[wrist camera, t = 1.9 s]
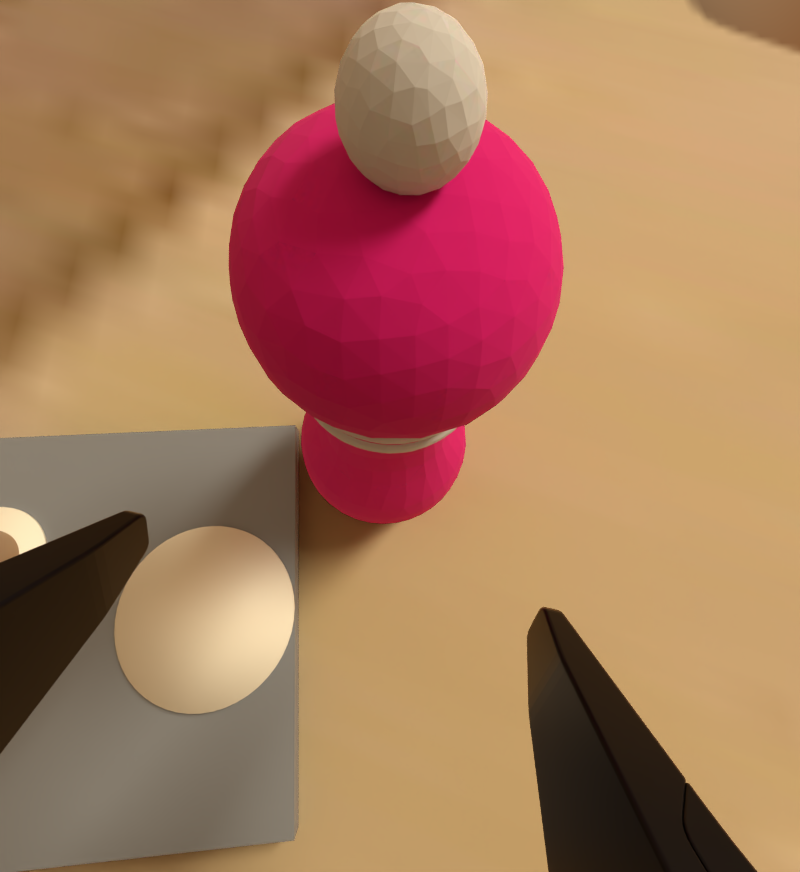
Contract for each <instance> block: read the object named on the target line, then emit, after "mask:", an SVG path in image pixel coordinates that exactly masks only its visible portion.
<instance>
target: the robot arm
mask: <svg viewBox="0 0 800 872" xmlns="http://www.w3.org/2000/svg"><path fill="white" fill-rule="evenodd" d="M148 545H149V536H148V528H147V520H146V517H145V516H144V515H143V514H141V513H137V512H132V511H122V512H119V513H117V514H115V515H112V516H110V517H107V518H105V519H103V520H100V521H98V522H96V523H93V524H91V525H88V526H86V527H84V528H81V529H79V530H76V531H74V532H72V533H69V534H67V535H64V536H62V537H60V538H57V539H55V540H53V541H50V542H48V543H45V544H43V545H41V546H38V547H36V548H33V549H31V550H29V551H26V552H24V553H22V554H19V555H17V556H14V557H12V558H10V559H7V560H5V561H2V562H0V754H1V753H2V751H3V750H4V749H5V747H6V746H7V745H8V743H9V742H10V741H11V740H12V738H13V737H14V736H15V734H16V733H17V732H18V730H19V729H20V728H21V726H22V725H23V724H24V723H25V721H26V720H27V719H28V717H29V716H30V715H31V713H32V712H33V711H34V709H35V708H36V707H37V706H38V704H39V703H40V702H41V700H42V699H43V698H44V696H45V695H46V694H47V692H48V691H49V690H50V688H51V687H52V686H53V685H54V683H55V682H56V681H57V679H58V678H59V677H60V675H61V674H62V673H63V671H64V670H65V669H66V668H67V666H68V665H69V664H70V662H71V661H72V660H73V658H74V657H75V656H76V654H77V653H78V652H79V651H80V649H81V648H82V647H83V645H84V644H85V643H86V641H87V640H88V639H89V637H90V636H91V635H92V634H93V632H94V631H95V630H96V628H97V627H98V626H99V624H100V623H101V622H102V620H103V619H104V618H105V616H106V615H107V613H108V612H109V610H110V609H111V607H112V606H113V604H114V603H115V601H116V600H117V598H118V596H119V595H120V593H121V591H122V590H123V588H124V587H125V585H126V583H127V582H128V580H129V578H130V577H131V575H132V574H133V572H134V570H135V569H136V567H137V566H138V564H139V562H140V561H141V559H142V557H143V556H144V554H145V552H146V551H147V548H148ZM527 664H528V705H529V719H530V728H531V736H532V744H533V752H534V760H535V768H536V776H537V784H538V792H539V799H540V807H541V815H542V823H543V831H544V839H545V847H546V855H547V863H548V871H549V872H757V871H756V869H755V868H754V867H753V866H752V864H751V863H750V862H749V861H748V860H747V858H746V857H745V856H744V855H743V853H742V852H741V851H740V850H739V848H738V847H737V846H736V845H735V843H734V842H733V841H732V840H731V838H730V837H729V836H728V834H727V833H726V832H725V830H724V829H723V828H722V827H721V825H720V824H719V823H718V821H717V820H716V819H715V817H714V816H713V815H712V813H711V812H710V811H709V810H708V808H707V807H706V806H705V804H704V803H703V802H702V800H701V799H700V798H699V796H698V795H697V793H696V792H695V791H694V789H693V788H692V787H691V785H690V784H689V783H686V780H685V778H684V776H683V775H682V773H681V772H680V771H679V769H678V768H677V767H676V765H675V764H674V763H673V761H672V760H671V759H670V757H669V756H668V755H667V753H666V752H665V750H664V749H663V748H662V746H661V745H660V744H659V742H658V741H657V740H656V738H655V737H654V736H653V734H652V733H651V732H650V730H649V729H648V728H647V726H646V725H645V723H644V722H643V721H642V719H641V718H640V717H639V715H638V714H637V713H636V711H635V710H634V709H633V707H632V706H631V705H630V703H629V702H628V701H627V699H626V698H625V696H624V695H623V694H622V692H621V691H620V690H619V688H618V687H617V686H616V684H615V683H614V682H613V680H612V679H611V678H610V676H609V675H608V674H607V672H606V671H605V669H604V668H603V667H602V665H601V664H600V663H599V661H598V660H597V659H596V657H595V656H594V655H593V653H592V652H591V651H590V649H589V648H588V647H587V645H586V644H585V642H584V641H583V640H582V638H581V637H580V636H579V634H578V633H577V632H576V630H575V629H574V628H573V626H572V625H571V624H570V622H569V621H568V620H567V618H566V617H565V615H564V614H563V613H562V612H561V611H559V610H555V609H551V608H547V607H542V608H541V609H540V610H539V612H538V613H537V615H536V617H535V619H534V621H533V623H532V625H531V627H530V629H529V631H528V635H527Z"/></svg>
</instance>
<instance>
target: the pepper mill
mask: <svg viewBox="0 0 800 872" xmlns="http://www.w3.org/2000/svg"><path fill="white" fill-rule="evenodd" d="M334 91H335V103H334V104H332V105H330V106H327V107H325V108H323V109H321V110H318V111H317V112H315V113H313V114H311V115H309V116H307V117H305V118H303V119H302V120H300V121H298V122H296V123H295V124H293V125H292V126H291V127H290V128H289V129H288V130H287V131H285V132H284V133H283V134H282V135H281V136H280V137H279V138H277V139H276V140H275V141H274V143H273V144H272V145H271V146H270V147H269V149H268V150H267V151H266V152H265V154H264V155H263V156H262V157H261V158H260V160H259V161H258V163H257V164H256V166H255V168H254V170H253V171H252V173H251V175H250V177H249V178H248V180H247V182H246V184H245V185H244V187H243V190H242V193H241V196H240V198H239V201H238V204H237V206H236V209H235V212H234V215H233V222H232V229H231V236H230V242H229V275H230V286H231V293H232V299H233V303H234V307H235V311H236V314H237V318H238V322H239V325H240V327H241V329H242V331H243V334H244V336H245V338H246V340H247V343H248V345H249V347H250V349H251V350H252V352H253V354H254V355H255V357H256V358H257V360H258V362H259V363H260V365H261V366H262V368H263V370H264V371H265V373H266V374H267V376H268V378H269V379H270V380H271V381H272V382H273V383H274V384H275V386H276V387H277V388H278V389H279V390H280V391H281V392H282V393H283V394H284V395H285V396H286V397H288V398H289V399H290V400H292V401H293V402H294V403H295V404H297V405H298V406H299V407H301V408H302V409H303V410H304V411H306V414H305V416H304V421H303V425H302V435H301V446H302V452H303V458H304V462H305V466H306V469H307V471H308V474H309V477H310V479H311V481H312V482H313V484H314V486H315V487H316V489H317V491H318V492H319V493H320V494H321V495H322V496H323V497H324V498H325V500H326V501H327V502H328V503H329V504H331V505H332V506H333V507H335V508H336V509H338V510H339V511H340V512H342V513H344V514H346V515H348V516H350V517H353V518H355V519H357V520H361V521H365V522H369V523H380V524H386V523H397V522H401V521H405V520H409V519H412V518H414V517H416V516H419V515H421V514H423V513H424V512H426V511H428V510H429V509H431V508H432V507H433V506H435V505H436V504H437V503H438V502H439V501H440V500H441V499H442V498H443V497H444V496H445V495H446V493H447V492H448V491H449V490H450V488H451V486H452V485H453V483H454V481H455V479H456V478H457V476H458V473H459V471H460V468H461V465H462V463H463V459H464V453H465V447H466V442H465V426H464V425H467V424H469V423H470V422H472V421H473V420H475V419H476V418H478V417H479V416H481V415H482V414H484V413H485V412H487V411H488V410H490V409H491V408H493V407H494V406H496V405H497V404H498V403H499V402H500V401H502V400H503V399H504V398H505V397H506V396H507V395H508V394H509V393H510V392H511V391H512V389H513V388H514V387H515V386H516V385H517V384H518V383H519V382H520V381H521V380H522V379H523V378H524V377H525V375H526V374H527V372H528V371H529V369H530V368H531V366H532V365H533V363H534V361H535V360H536V358H537V357H538V355H539V353H540V351H541V349H542V347H543V345H544V343H545V341H546V339H547V337H548V335H549V333H550V331H551V329H552V326H553V322H554V319H555V316H556V313H557V309H558V306H559V303H560V295H561V286H562V277H563V269H564V266H563V255H562V243H561V234H560V229H559V224H558V219H557V215H556V212H555V209H554V206H553V203H552V200H551V197H550V194H549V191H548V189H547V187H546V185H545V184H544V182H543V180H542V178H541V176H540V175H539V173H538V171H537V169H536V168H535V166H534V164H533V162H532V161H531V160H530V159H529V158H528V157H527V156H526V154H525V153H524V152H523V151H522V150H521V149H520V148H519V147H518V145H517V144H516V143H515V142H514V141H513V140H512V139H511V138H510V137H509V136H508V135H506V134H505V133H504V132H502V131H501V130H499V129H498V128H497V127H495V126H494V125H493V124H491V123H490V122H488V121H487V120H486V111H487V95H488V92H487V85H486V79H485V72H484V65H483V62H482V60H481V58H480V56H479V53H478V51H477V49H476V47H475V45H474V42H473V41H472V40H471V38H470V37H469V36H468V34H467V33H466V32H465V30H464V29H463V28H462V26H461V25H460V24H459V22H458V21H457V20H456V19H455V18H453V17H451V16H450V15H448V14H446V13H445V12H443V11H441V10H440V9H438V8H436V7H434V6H429V5H423V4H418V3H398V4H395V5H393V6H391V7H388V8H386V9H383V10H381V11H379V12H377V13H375V14H374V15H373V16H372V17H371V18H369V19H368V20H367V21H366V22H365V23H363V25H362V26H361V27H360V28H359V30H358V31H357V32H356V34H355V35H354V36H353V37H352V39H351V41H350V43H349V45H348V47H347V49H346V51H345V53H344V55H343V57H342V59H341V61H340V66H339V70H338V75H337V80H336V85H335V90H334Z"/></svg>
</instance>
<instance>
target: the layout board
mask: <svg viewBox="0 0 800 872" xmlns="http://www.w3.org/2000/svg"><path fill="white" fill-rule="evenodd" d="M298 504H299V431H298V429H297V427H296V426H295V425H293V426H270V427H247V428H224V429H201V430H178V431H155V432H132V433H109V434H86V435H62V436H39V437H16V438H0V562H2V561H5V560H7V559H10V558H12V557H14V556H17V555H19V554H22V553H24V552H26V551H29V550H31V549H33V548H36V547H38V546H41V545H43V544H45V543H48V542H50V541H53V540H55V539H57V538H60V537H62V536H64V535H67V534H69V533H72V532H74V531H76V530H79V529H81V528H84V527H86V526H88V525H91V524H93V523H96V522H98V521H100V520H103V519H105V518H107V517H110V516H112V515H115V514H117V513H119V512H122V511H132V512H137V513H141V514H143V515H144V516H145V517H146V520H147V528H148V536H149V545H148V548H147V551H146V552H145V554H144V556H143V557H142V559H141V561H140V562H139V564H138V566H137V567H136V569H135V570H134V572H133V574H132V575H131V577H130V578H129V580H128V582H127V583H126V585H125V587H124V588H123V590H122V591H121V593H120V595H119V596H118V598H117V600H116V601H115V603H114V604H113V606H112V607H111V609H110V610H109V612H108V613H107V615H106V616H105V618H104V619H103V620H102V622H101V623H100V624H99V626H98V627H97V628H96V630H95V631H94V632H93V634H92V635H91V636H90V637H89V639H88V640H87V641H86V643H85V644H84V645H83V647H82V648H81V649H80V651H79V652H78V653H77V654H76V656H75V657H74V658H73V660H72V661H71V662H70V664H69V665H68V666H67V668H66V669H65V670H64V671H63V673H62V674H61V675H60V677H59V678H58V679H57V681H56V682H55V683H54V685H53V686H52V687H51V688H50V690H49V691H48V692H47V694H46V695H45V696H44V698H43V699H42V700H41V702H40V703H39V704H38V706H37V707H36V708H35V709H34V711H33V712H32V713H31V715H30V716H29V717H28V719H27V720H26V721H25V723H24V724H23V725H22V726H21V728H20V729H19V730H18V732H17V733H16V734H15V736H14V737H13V738H12V740H11V741H10V742H9V743H8V745H7V746H6V747H5V749H4V750H3V751H2V753H1V754H0V872H18V871H27V870H36V869H45V868H54V867H63V866H72V865H81V864H90V863H98V862H107V861H116V860H125V859H134V858H143V857H152V856H161V855H170V854H178V853H187V852H196V851H205V850H214V849H223V848H232V847H241V846H249V845H258V844H267V843H276V842H285V841H294V839H295V836H296V832H297V829H298Z"/></svg>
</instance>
